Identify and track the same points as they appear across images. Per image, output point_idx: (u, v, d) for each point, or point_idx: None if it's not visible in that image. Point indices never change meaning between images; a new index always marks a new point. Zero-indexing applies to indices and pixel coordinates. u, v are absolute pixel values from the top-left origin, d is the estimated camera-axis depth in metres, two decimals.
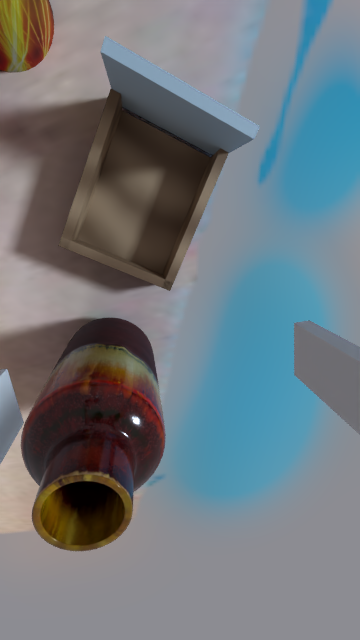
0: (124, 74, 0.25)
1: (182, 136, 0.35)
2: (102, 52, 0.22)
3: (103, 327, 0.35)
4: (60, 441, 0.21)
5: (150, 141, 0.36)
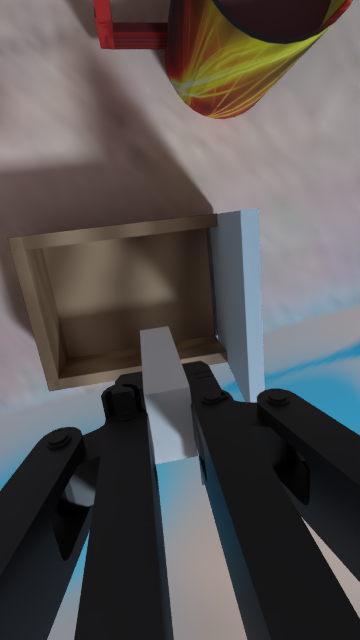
0: (234, 239, 0.19)
1: (217, 300, 0.31)
2: (240, 212, 0.17)
3: None
4: None
5: (194, 270, 0.30)
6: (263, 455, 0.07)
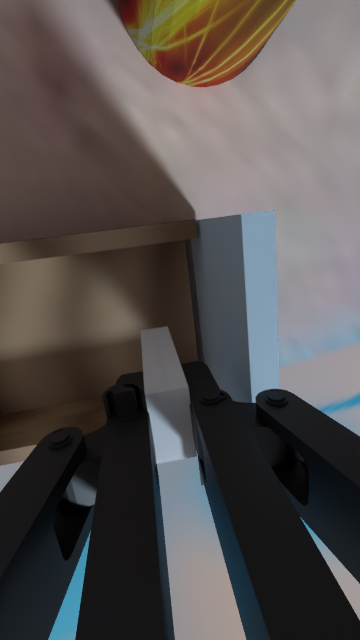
0: (228, 264, 0.11)
1: (203, 335, 0.23)
2: (241, 218, 0.09)
3: None
4: None
5: (170, 295, 0.22)
6: (262, 455, 0.07)
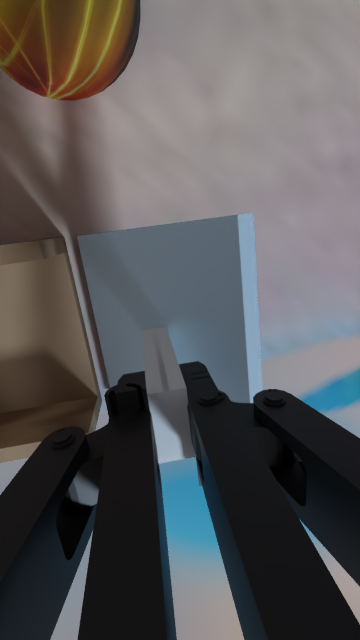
0: (201, 261, 0.13)
1: (110, 351, 0.22)
2: (236, 218, 0.11)
3: None
4: None
5: (55, 312, 0.22)
6: (260, 456, 0.07)
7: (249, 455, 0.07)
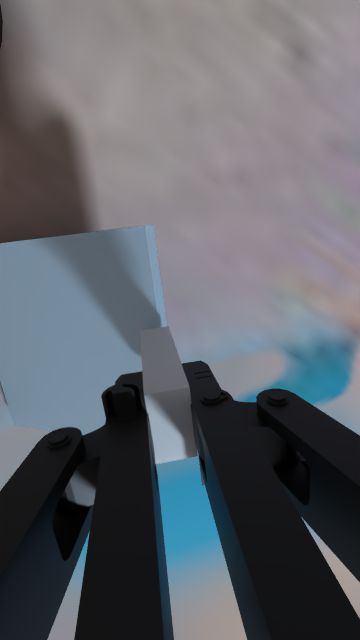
0: (114, 263, 0.16)
1: (8, 365, 0.21)
2: (143, 228, 0.15)
3: None
4: None
5: None
6: (263, 455, 0.07)
7: (252, 454, 0.07)
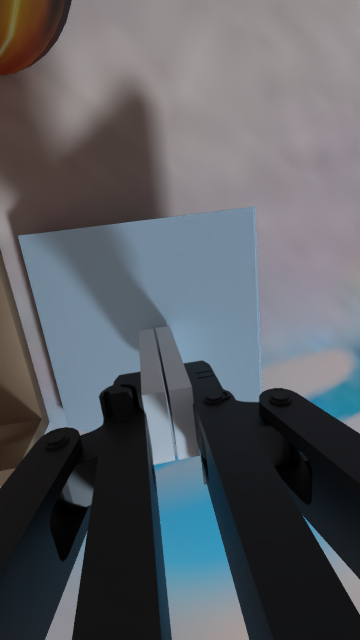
0: (210, 250, 0.14)
1: (68, 364, 0.19)
2: (251, 210, 0.13)
3: None
4: None
5: None
6: (265, 455, 0.07)
7: (254, 454, 0.07)
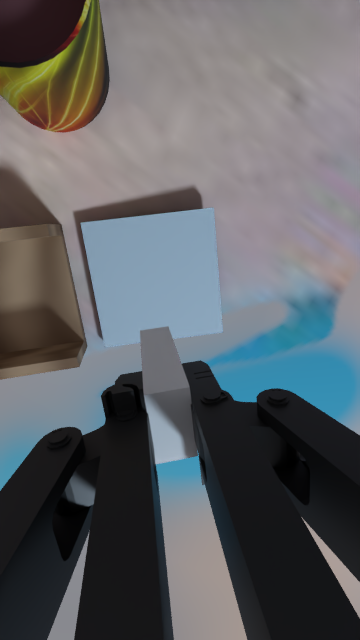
0: (194, 227, 0.31)
1: (108, 301, 0.32)
2: (212, 208, 0.30)
3: None
4: None
5: (54, 277, 0.31)
6: (263, 455, 0.07)
7: (252, 455, 0.07)
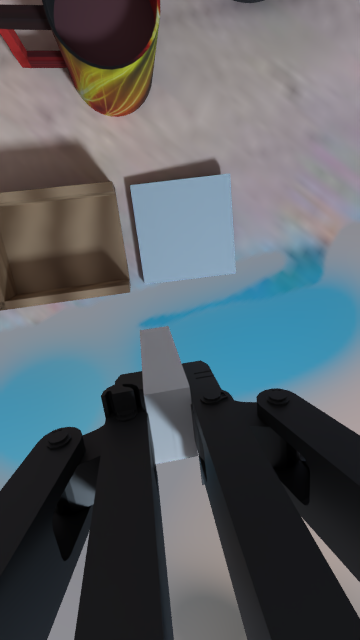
0: (215, 189, 0.41)
1: (148, 247, 0.42)
2: (229, 174, 0.40)
3: None
4: None
5: (109, 227, 0.41)
6: (263, 455, 0.07)
7: (252, 455, 0.07)
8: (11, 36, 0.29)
